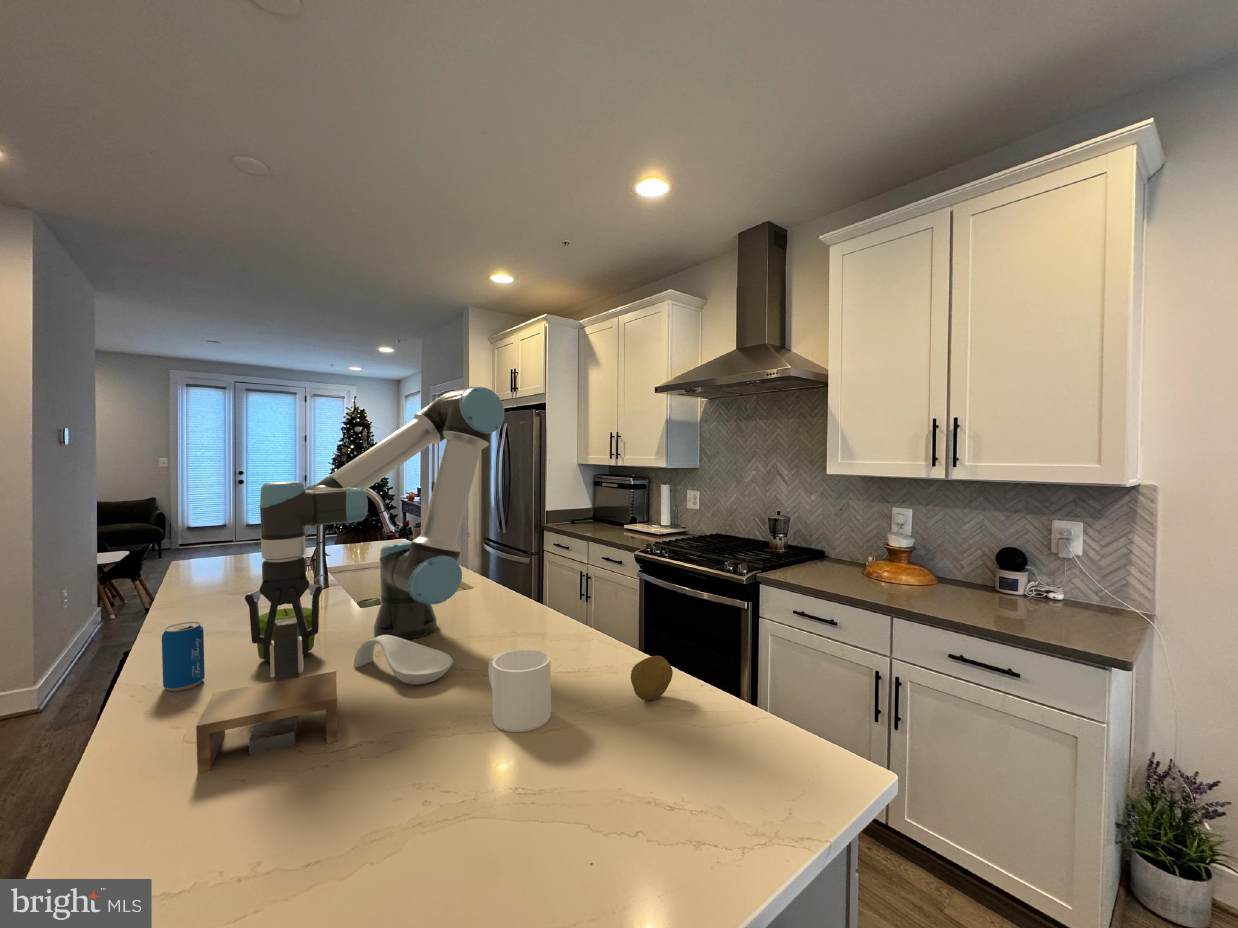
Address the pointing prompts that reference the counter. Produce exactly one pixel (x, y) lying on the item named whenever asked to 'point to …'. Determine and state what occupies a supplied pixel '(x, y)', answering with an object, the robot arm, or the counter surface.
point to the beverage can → (183, 656)
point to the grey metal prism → (286, 649)
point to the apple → (282, 615)
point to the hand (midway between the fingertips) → (287, 671)
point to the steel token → (273, 735)
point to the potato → (651, 677)
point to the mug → (520, 689)
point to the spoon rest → (406, 659)
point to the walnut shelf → (264, 709)
